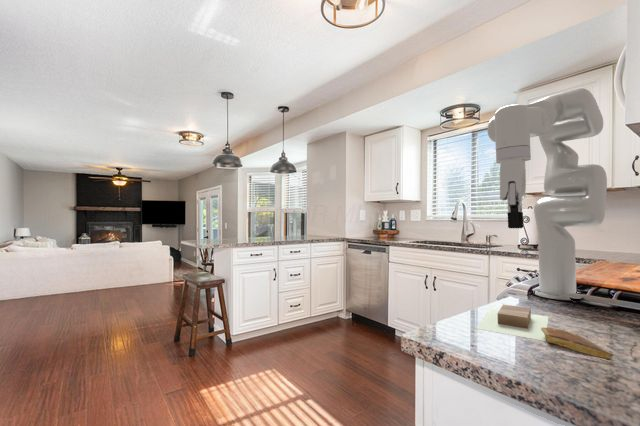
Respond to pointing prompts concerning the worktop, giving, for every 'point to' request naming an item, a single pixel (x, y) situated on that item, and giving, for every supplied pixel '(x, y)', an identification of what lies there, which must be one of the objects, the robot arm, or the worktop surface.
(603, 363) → the worktop surface
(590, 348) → the shard
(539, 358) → the worktop surface
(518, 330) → the sage mat
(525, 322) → the walnut slab
